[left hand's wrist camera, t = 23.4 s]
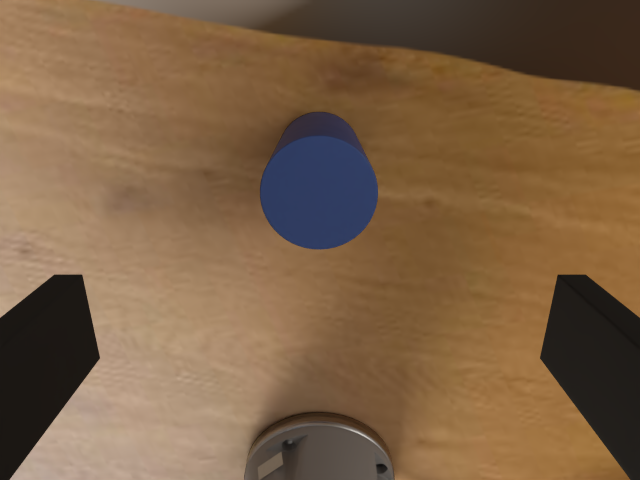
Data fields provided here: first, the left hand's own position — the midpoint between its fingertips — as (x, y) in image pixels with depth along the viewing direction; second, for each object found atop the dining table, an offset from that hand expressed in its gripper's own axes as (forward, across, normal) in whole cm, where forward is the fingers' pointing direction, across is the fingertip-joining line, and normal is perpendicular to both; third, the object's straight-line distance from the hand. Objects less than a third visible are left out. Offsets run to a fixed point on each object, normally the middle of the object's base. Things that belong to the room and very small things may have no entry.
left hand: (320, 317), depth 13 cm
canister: (+24, 0, 0) cm, 24 cm away
